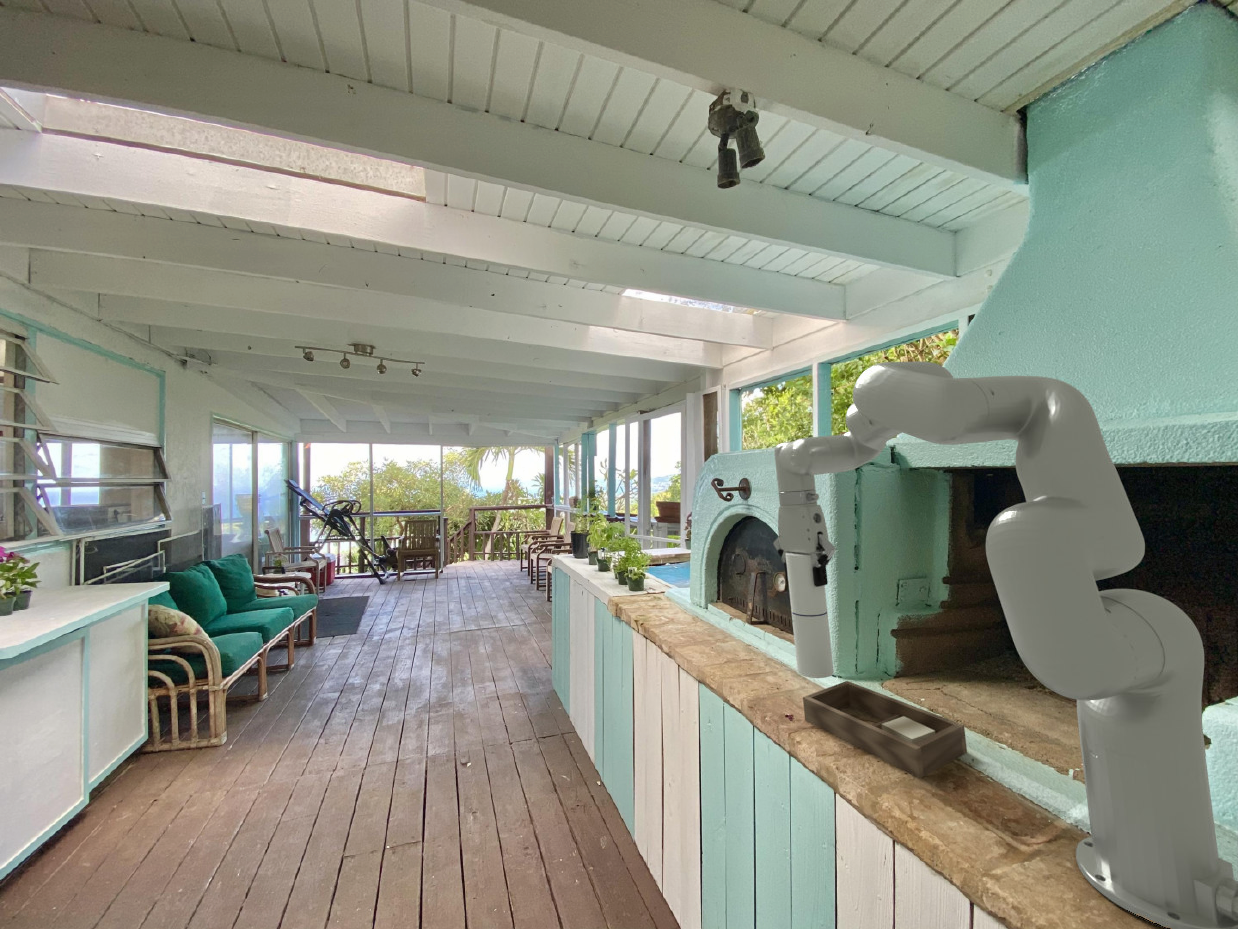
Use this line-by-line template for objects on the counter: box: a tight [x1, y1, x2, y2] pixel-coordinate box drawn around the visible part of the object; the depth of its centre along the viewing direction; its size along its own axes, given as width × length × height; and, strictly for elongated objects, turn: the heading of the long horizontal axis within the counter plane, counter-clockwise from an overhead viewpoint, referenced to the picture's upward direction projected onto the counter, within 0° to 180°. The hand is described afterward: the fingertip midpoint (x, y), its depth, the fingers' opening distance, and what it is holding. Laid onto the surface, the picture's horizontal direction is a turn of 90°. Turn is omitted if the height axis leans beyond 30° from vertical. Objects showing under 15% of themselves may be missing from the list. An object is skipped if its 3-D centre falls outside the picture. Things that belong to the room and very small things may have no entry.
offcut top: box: [882, 716, 935, 744], centre depth 82 cm, size 6×5×2 cm
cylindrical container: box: [786, 552, 835, 679], centre depth 105 cm, size 7×7×25 cm
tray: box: [802, 680, 968, 779], centre depth 86 cm, size 22×12×5 cm, turn 26°
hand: (806, 582), depth 105 cm, fingers closed on cylindrical container, 7 cm apart
